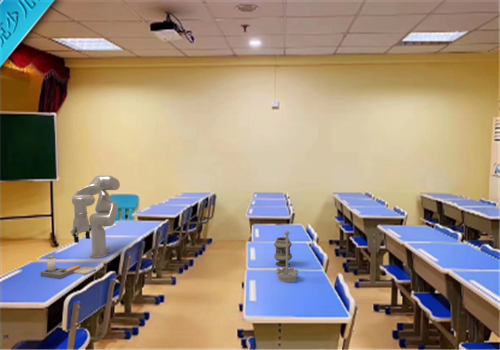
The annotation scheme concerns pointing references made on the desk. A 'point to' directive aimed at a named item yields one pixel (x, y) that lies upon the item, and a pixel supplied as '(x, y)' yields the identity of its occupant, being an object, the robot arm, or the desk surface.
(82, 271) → the tray
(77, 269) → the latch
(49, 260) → the cylinder
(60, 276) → the grey holder base
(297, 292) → the desk surface
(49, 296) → the desk surface
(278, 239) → the apothecary jar
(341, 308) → the desk surface
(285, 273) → the flag stand
